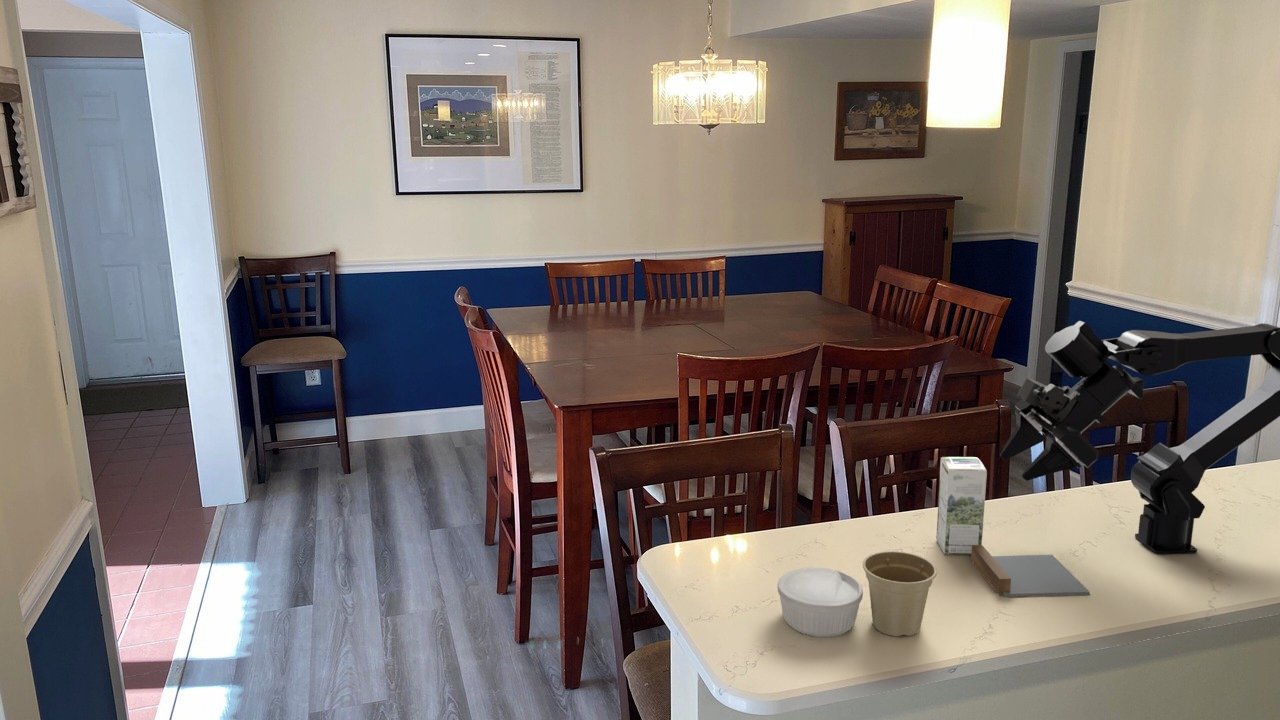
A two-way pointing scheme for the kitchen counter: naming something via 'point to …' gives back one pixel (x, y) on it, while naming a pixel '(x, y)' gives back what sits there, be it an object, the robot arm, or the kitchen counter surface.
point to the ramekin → (819, 600)
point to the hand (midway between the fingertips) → (1012, 467)
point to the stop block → (990, 569)
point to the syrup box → (961, 504)
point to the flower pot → (898, 590)
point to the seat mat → (1039, 576)
